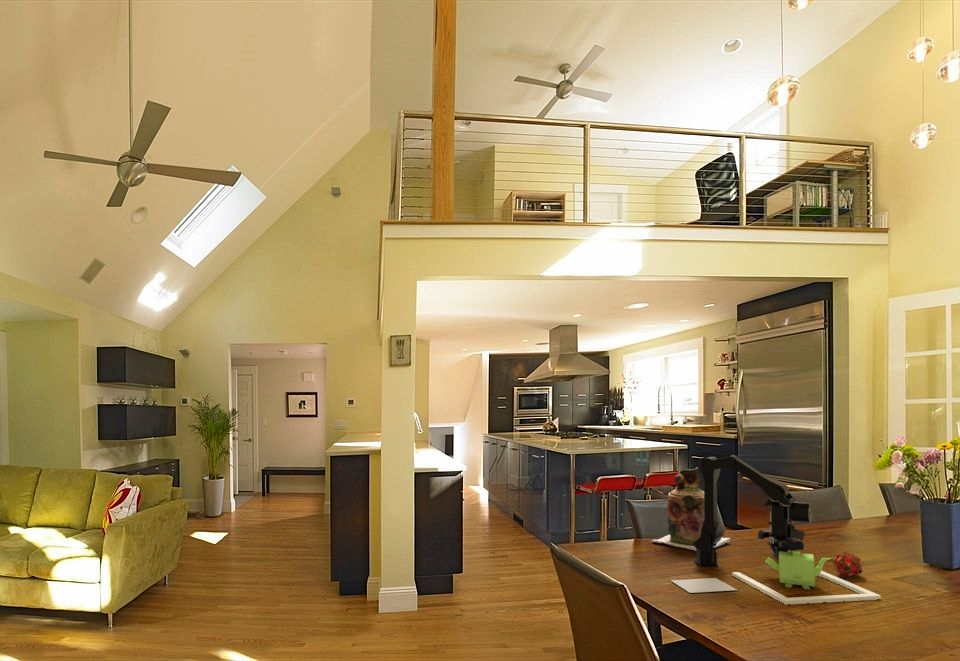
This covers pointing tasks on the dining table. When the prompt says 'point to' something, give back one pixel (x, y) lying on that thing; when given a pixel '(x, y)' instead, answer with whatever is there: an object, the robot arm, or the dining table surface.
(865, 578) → the dining table surface
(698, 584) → the paper stack
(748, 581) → the kettle dock outline
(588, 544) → the dining table surface
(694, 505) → the cookie jar
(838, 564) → the dragon fruit
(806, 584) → the kettle
